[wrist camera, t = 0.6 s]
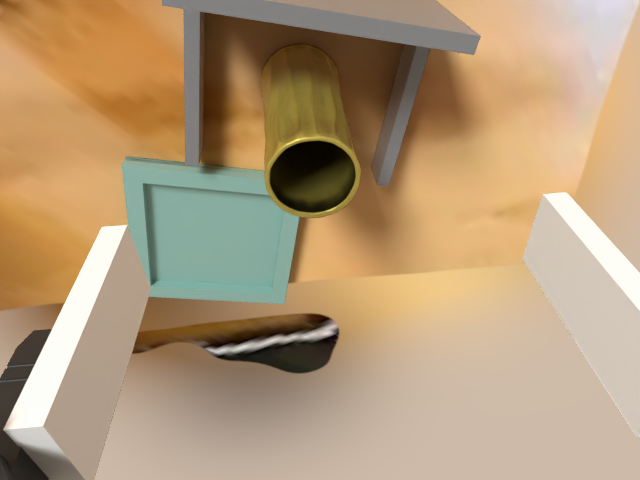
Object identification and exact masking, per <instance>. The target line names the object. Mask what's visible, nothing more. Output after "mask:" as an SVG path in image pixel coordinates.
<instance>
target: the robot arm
mask: <svg viewBox="0 0 640 480" xmlns="http://www.w3.org/2000/svg"><path fill="white" fill-rule="evenodd" d="M523 261H524V262H525V264H526V265H527V267H528V268H529V270H530V272H531V273H532V275H533V276H534V278H535V280H536V281H537V283H538V284H539V286H540V287H541V289H542V291H543V292H544V294H545V295H546V297H547V298H548V300H549V302H550V303H551V305H552V306H553V308H554V309H555V311H556V312H557V314H558V316H559V317H560V319H561V320H562V322H563V324H564V325H565V327H566V328H567V330H568V331H569V333H570V335H571V336H572V337H573V339H574V340H575V342H576V344H577V345H578V347H579V349H580V350H581V352H582V353H583V355H584V356H585V358H586V360H587V361H588V363H589V364H590V366H591V367H592V369H593V371H594V372H595V374H596V375H597V377H598V378H599V380H600V382H601V383H602V385H603V386H604V388H605V389H606V391H607V393H608V394H609V396H610V397H611V399H612V400H613V402H614V404H615V405H616V407H617V408H618V410H619V411H620V413H621V414H622V416H623V418H624V419H625V421H626V422H627V424H628V425H629V427H630V428H631V430H632V432H633V433H634V435H635V436H636V437H638V436H640V273H639V272H638V271H637V270H636V269H635V267H634V266H633V265H632V264H631V263H630V262H629V261H628V260H627V259H626V258H625V256H624V255H623V254H622V253H621V252H620V251H619V250H618V249H617V248H616V247H615V245H614V244H613V243H612V242H611V241H610V240H609V239H608V238H607V237H606V236H605V234H604V233H603V232H602V231H601V230H600V229H599V228H598V227H597V226H596V225H595V223H594V222H593V221H592V220H591V219H590V218H589V217H588V216H587V215H586V213H584V211H583V210H582V209H581V208H580V207H579V206H578V205H577V204H576V203H575V201H574V200H573V199H572V198H571V197H570V196H569V195H568V194H567V192H564V193H550V194H543V195H542V199H541V202H540V205H539V208H538V211H537V214H536V218H535V221H534V224H533V227H532V230H531V233H530V237H529V240H528V243H527V246H526V249H525V252H524V256H523ZM150 290H151V287H150V285H149V282H148V279H147V277H146V274H145V271H144V269H143V266H142V263H141V261H140V258H139V255H138V253H137V250H136V247H135V245H134V242H133V239H132V237H131V234H130V231H129V229H128V226H127V225H120V226H107V227H102V228H101V230H100V232H99V234H98V236H97V238H96V240H95V242H94V244H93V246H92V249H91V251H90V253H89V255H88V257H87V259H86V261H85V263H84V265H83V267H82V269H81V271H80V273H79V275H78V277H77V279H76V281H75V283H74V285H73V288H72V290H71V292H70V294H69V296H68V298H67V300H66V302H65V304H64V306H63V308H62V311H61V312H60V314H59V317H58V318H57V321H56V322H55V325H54V327H53V329H48V330H36V331H33V332H32V333H31V334H30V335H29V336H28V337H27V338H26V339H25V340H24V341H23V342H22V343H21V344H20V345H19V346H18V347H17V348H16V350H15V352H14V354H13V356H12V358H11V359H10V362H9V363H8V365H7V366H8V368H7V369H5V371H4V373H3V374H2V376H1V378H0V480H94V478H95V475H96V471H97V468H98V465H99V461H100V458H101V454H102V451H103V447H104V445H105V441H106V438H107V434H108V431H109V428H110V424H111V421H112V417H113V414H114V411H115V407H116V404H117V401H118V397H119V394H120V391H121V387H122V384H123V381H124V377H125V374H126V371H127V367H128V364H129V361H130V357H131V354H132V351H133V347H134V344H135V340H136V337H137V334H138V330H139V327H140V324H141V320H142V317H143V314H144V310H145V307H146V303H147V300H148V297H149V293H150Z"/></svg>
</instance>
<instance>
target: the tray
mask: <svg viewBox="0 0 640 480" xmlns="http://www.w3.org/2000/svg"><path fill="white" fill-rule="evenodd" d="M122 171H123V180H124V189H125V199H126V208H127V217H128V227H129V231H130V234H131V237H132V239H133V242H134V245H135V247H136V250H137V253H138V255H139V258H140V261H141V263H142V266H143V269H144V271H145V274H146V277H147V279H148V282H149V285H150V287H151V290H150V293H149V297H164V298H182V299H183V298H184V299H200V300H201V299H202V300H219V301H236V302H255V303H272V304H284V303H285V297H286V292H287V286H288V280H289V274H290V269H291V263H292V257H293V251H294V246H295V240H296V234H297V228H298V223H299V217H298V216H294V215H292V214H290V213H288V212H286V211H284V210H282V209H281V208H279V207H278V206H277V205H276V204H275V203H274V202H273V200H272V199H271V197H270V196H269V194H268V192H267V190H266V187H265V177H264V174H265V171H261V170H252V169H242V168H232V167H223V166H213V165H204V164H199V167H197V166H187V165H185V163H184V162H175V161H165V160H156V159H146V158H136V157H127V156H126V158H125V160H124V162H123V164H122Z"/></svg>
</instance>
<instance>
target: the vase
mask: <svg viewBox="0 0 640 480" xmlns="http://www.w3.org/2000/svg"><path fill="white" fill-rule="evenodd" d="M261 92H262V97H263V103H264V117H265V138H266V142H265V174H264V177H265V187H266V190H267V192H268V194H269V196H270V197H271V199H272V200H273V202H274V203H275V204H276V205H277V206H278V207H279V208H281V209H282V210H284V211H286V212H288V213H290V214H292V215H294V216H298V217H303V218H320V217H325V216H328V215H331V214H333V213H336V212H338V211H339V210H341V209H342V208H344V207H345V206H346V205H348V204H349V202H350V201H351V200H352V199H353V197H354V196H355V194H356V192H357V190H358V187H359V183H360V176H361V168H360V164H359V161H358V159H357V156H356V153H355V150H354V146H353V142H352V138H351V134H350V130H349V126H348V122H347V119H346V116H345V112H344V108H343V103H342V99H341V91H340V80H339V75H338V70H337V68H336V66H335V64H334V63H333V61H332V60H331V59H330V57H329V56H328V55H327V54H326V53H324V52H323V51H321V50H320V49H318V48H315V47H313V46H310V45H304V44H300V45H292V46H287V47H285V48H282V49H281V50H279V51H277V52H276V53H275V54H273V55H272V56H271V57H270V59H269V60H268V61H267V63H266V65H265V67H264V69H263V71H262V75H261Z"/></svg>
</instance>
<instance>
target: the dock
mask: <svg viewBox="0 0 640 480" xmlns="http://www.w3.org/2000/svg"><path fill="white" fill-rule="evenodd" d="M162 6H169V7H175V8H181V9H184V83H185V165H187V166H197V167H199V163H200V159H201V155H202V150H203V108H204V39H205V12H206V13H213V14H219V15H225V16H232V17H238V18H244V19H250V20H257V21H263V22H269V23H276V24H282V25H288V26H295V27H301V28H307V29H313V30H320V31H326V32H332V33H339V34H345V35H351V36H358V37H364V38H370V39H376V40H383V41H389V42H395V43H402V44H404V46H403V50H402V54H401V58H400V61H399V65H398V69H397V72H396V76H395V80H394V84H393V87H392V91H391V95H390V98H389V102H388V106H387V110H386V113H385V117H384V121H383V125H382V128H381V132H380V136H379V139H378V143H377V147H376V151H375V154H374V158H373V162H372V166H371V168H372V171H373V174H374V177H375V180H376V183H377V185H381V186H389V183H390V180H391V176H392V173H393V170H394V167H395V163H396V160H397V157H398V153H399V150H400V147H401V143H402V140H403V137H404V134H405V130H406V127H407V124H408V120H409V117H410V114H411V111H412V107H413V104H414V101H415V97H416V94H417V91H418V87H419V84H420V81H421V78H422V74H423V71H424V68H425V64H426V61H427V58H428V55H429V51H430V48H433V49H439V50H446V51H452V52H458V53H465V54H471V55H474V53H475V51H476V48H477V45H478V42H479V40H480V37H481V36H480V35H479V34H477V33H476V32H475V31H474V30H472V29H471V28H470V27H469V26H467V25H466V24H465V23H464V22H462V21H461V20H460V19H459V18H457V17H456V16H455V15H454V14H452V13H451V12H450V11H449V10H447V9H446V8H445V7H443V6H442V5H441V4H440V3H438V2H437V1H436V0H162Z"/></svg>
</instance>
